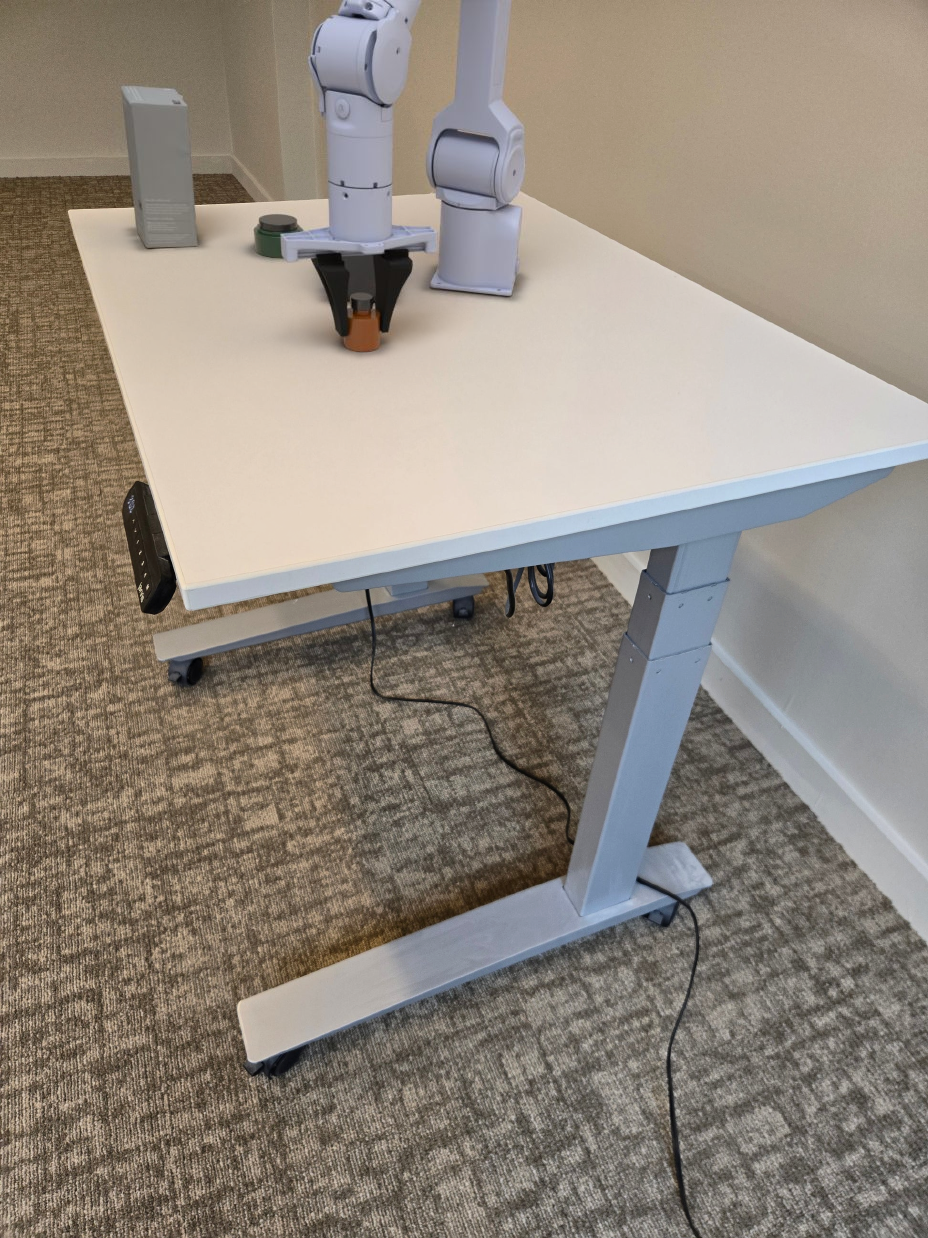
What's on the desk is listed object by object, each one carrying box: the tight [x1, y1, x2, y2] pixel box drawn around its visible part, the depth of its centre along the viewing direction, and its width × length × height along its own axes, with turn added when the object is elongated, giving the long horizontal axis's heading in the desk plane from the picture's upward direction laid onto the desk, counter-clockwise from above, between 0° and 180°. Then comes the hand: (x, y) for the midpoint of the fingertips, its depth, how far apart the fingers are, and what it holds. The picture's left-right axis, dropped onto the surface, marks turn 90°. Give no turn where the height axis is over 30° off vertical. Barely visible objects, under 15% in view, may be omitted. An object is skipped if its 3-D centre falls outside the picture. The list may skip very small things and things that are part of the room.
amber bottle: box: [343, 293, 381, 353], centre depth 85 cm, size 4×4×5 cm
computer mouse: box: [342, 255, 376, 303], centre depth 99 cm, size 8×14×4 cm, turn 3°
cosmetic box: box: [120, 85, 199, 249], centre depth 103 cm, size 8×7×16 cm
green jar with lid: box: [253, 213, 305, 259], centre depth 106 cm, size 6×6×4 cm
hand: (361, 330), depth 86 cm, fingers closed on amber bottle, 3 cm apart
